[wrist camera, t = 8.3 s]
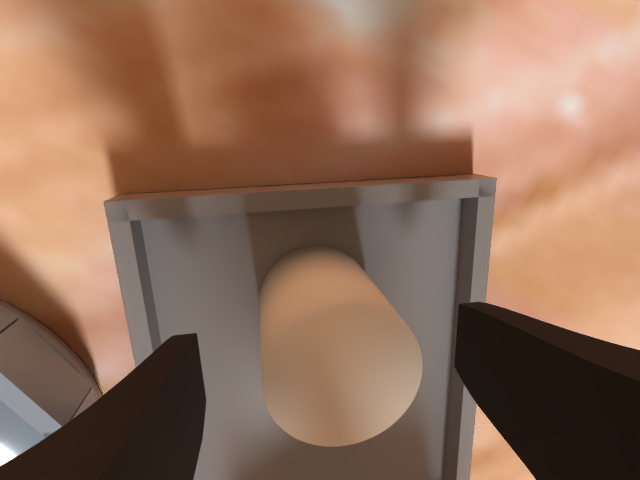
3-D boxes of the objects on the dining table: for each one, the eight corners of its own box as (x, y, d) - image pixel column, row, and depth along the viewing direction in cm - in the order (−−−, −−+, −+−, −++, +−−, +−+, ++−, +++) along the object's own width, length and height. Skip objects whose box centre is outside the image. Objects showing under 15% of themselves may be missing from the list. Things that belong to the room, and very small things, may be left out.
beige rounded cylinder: (368, 340, 15) (419, 433, 10) (264, 352, 14) (268, 457, 10) (368, 240, 14) (425, 294, 9) (254, 249, 13) (254, 312, 8)
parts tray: (449, 495, 18) (465, 524, 17) (184, 545, 16) (177, 582, 15) (473, 174, 14) (496, 178, 13) (120, 194, 12) (103, 201, 11)
